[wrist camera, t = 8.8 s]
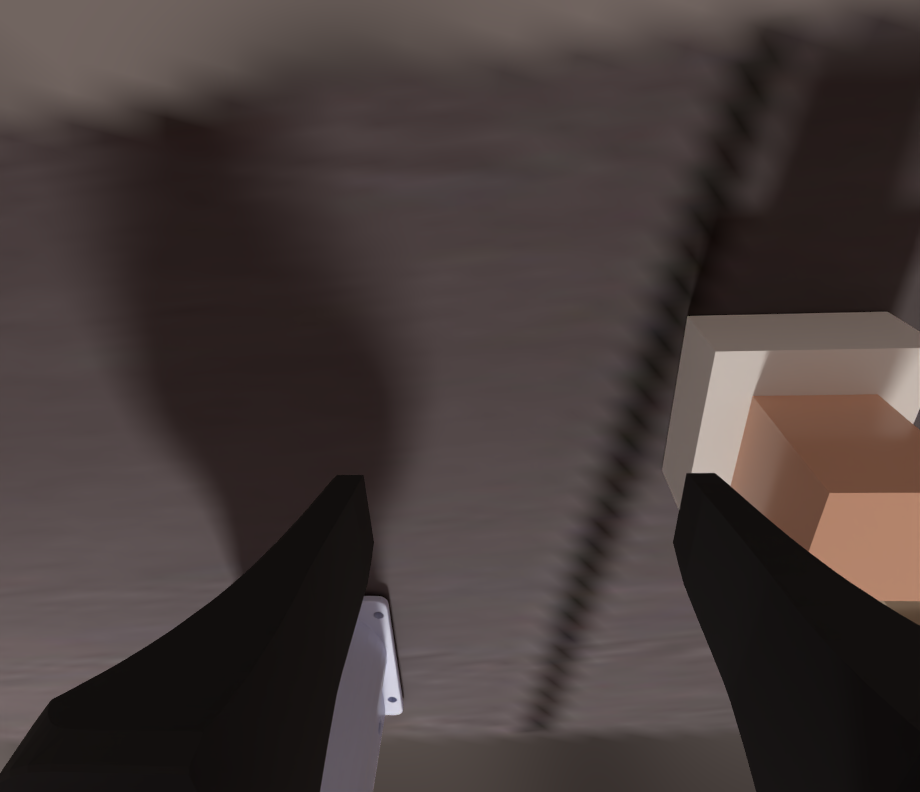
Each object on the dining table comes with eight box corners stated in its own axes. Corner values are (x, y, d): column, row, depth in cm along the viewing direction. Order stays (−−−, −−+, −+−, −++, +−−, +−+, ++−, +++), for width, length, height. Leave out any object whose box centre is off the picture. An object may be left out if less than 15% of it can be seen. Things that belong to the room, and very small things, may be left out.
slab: (832, 469, 24) (874, 518, 22) (661, 470, 25) (682, 518, 22) (887, 311, 21) (945, 347, 18) (687, 316, 21) (715, 351, 18)
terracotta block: (842, 490, 21) (934, 601, 17) (729, 490, 21) (790, 600, 17) (878, 394, 19) (993, 492, 15) (752, 396, 19) (829, 492, 15)
